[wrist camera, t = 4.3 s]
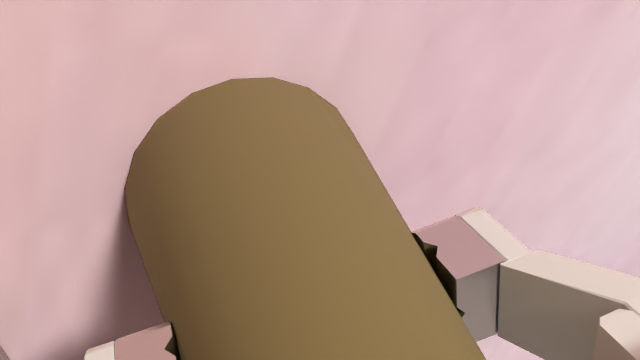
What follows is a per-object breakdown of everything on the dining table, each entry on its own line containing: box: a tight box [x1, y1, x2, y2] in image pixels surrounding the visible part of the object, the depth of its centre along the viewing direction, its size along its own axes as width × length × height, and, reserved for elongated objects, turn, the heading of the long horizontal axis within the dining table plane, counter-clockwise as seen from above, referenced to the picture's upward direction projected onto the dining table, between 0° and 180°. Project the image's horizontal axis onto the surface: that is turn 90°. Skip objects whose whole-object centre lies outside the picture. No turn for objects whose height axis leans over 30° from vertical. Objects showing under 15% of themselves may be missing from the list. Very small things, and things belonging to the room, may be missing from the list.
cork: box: [125, 78, 486, 360], centre depth 9 cm, size 6×6×11 cm
